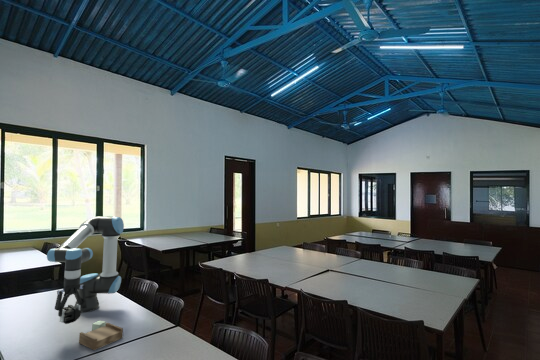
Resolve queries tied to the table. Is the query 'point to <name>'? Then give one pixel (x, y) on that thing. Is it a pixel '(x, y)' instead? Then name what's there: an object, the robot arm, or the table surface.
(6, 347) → the table surface
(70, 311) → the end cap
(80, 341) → the pedestal
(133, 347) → the table surface
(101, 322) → the sage cube
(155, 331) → the table surface
